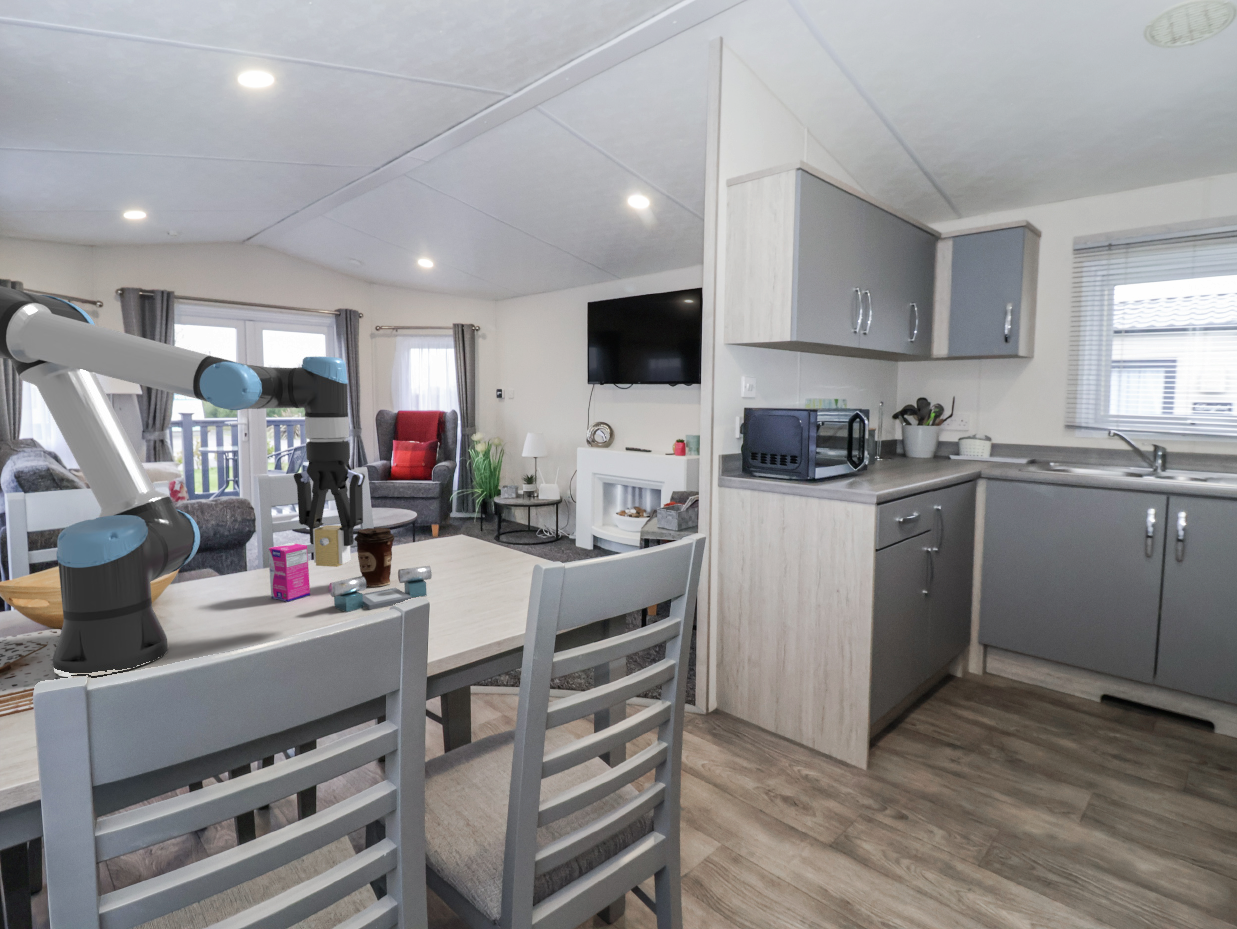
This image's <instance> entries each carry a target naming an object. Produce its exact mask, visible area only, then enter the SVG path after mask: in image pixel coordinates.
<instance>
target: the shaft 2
mask: <svg viewBox="0 0 1237 929" xmlns="http://www.w3.org/2000/svg"><path fill="white" fill-rule="evenodd" d="M432 574H433V573H432V568H431V566H430V565H425V566H418V567H409V568H401V569H398V572H397V576H398V582H399V584H403V583H404V593H406V594H408V595H410V596H411V597H412V599H414V598H413V597H415V598H420V597H419V596H421V597H426V596H427V594H428V593H427V582H426V581H427V580H431V579H432V576H433V575H432ZM425 595H426V596H425Z"/></svg>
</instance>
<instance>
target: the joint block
mask: <svg viewBox="0 0 1237 929" xmlns="http://www.w3.org/2000/svg"><path fill="white" fill-rule="evenodd" d="M322 526H323V527H322ZM322 526H320V528H317V529H314V530H315V553H316V563H315V566H316V567H335V568H339V567H340V566H343V565H344V564H345V565H346V563H344V564H339V551H338V530H340V529H339V528H341V525H335V524H334V525H333V524H332V525H330V524H329V525H328V524H326V525H322Z"/></svg>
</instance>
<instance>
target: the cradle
mask: <svg viewBox="0 0 1237 929" xmlns="http://www.w3.org/2000/svg"><path fill="white" fill-rule="evenodd" d="M362 594H363V607H365V608H366V609H368V610H369V611H370V610H375V609H380V608H386V607H391V606H394V605H393V604H396V603H400V602H403V601H405V600H408V599H411V598H412V597H411V596H410V595H408V594H406V593H405V591H403V590H401V589H399V588H397V587H393V588H387V589H382V590H376V591H375V590H374V591H370V592H366V593H362ZM412 599H413V598H412ZM396 605H397V604H396Z"/></svg>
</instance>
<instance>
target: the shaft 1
mask: <svg viewBox="0 0 1237 929" xmlns="http://www.w3.org/2000/svg"><path fill="white" fill-rule="evenodd" d="M366 589H367V586H366V580H365V578H364V577H363V576H362V575H360V576H359V575H358V576H356V577H351V578H347V579H343V580H338V581H334V582H330V583H329V585H328V591H329V594H330V596H331V597H332V598H333V602H334V608H336V609H339V610H340V611H343V612H345V613H348V612H352V611H356V610H360V609H363V608H364V606H363V594H364V593H361V591H364V590H366Z"/></svg>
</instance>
